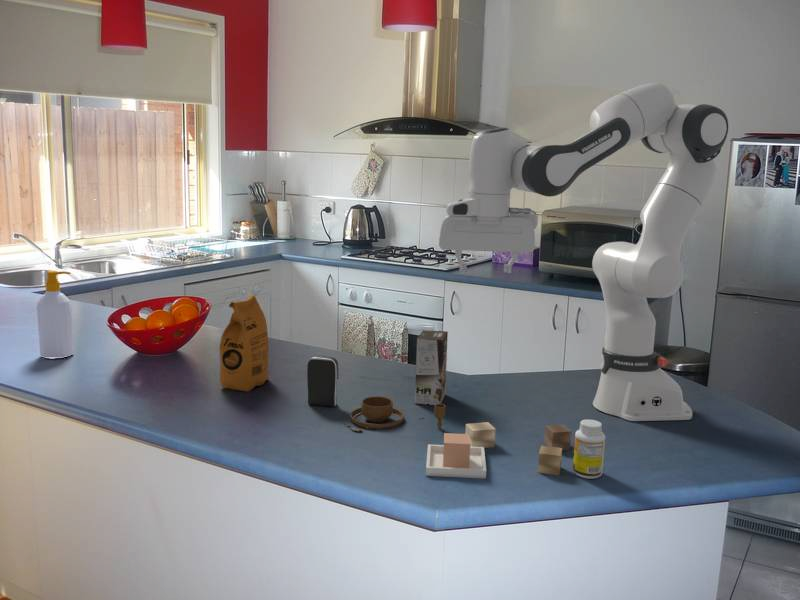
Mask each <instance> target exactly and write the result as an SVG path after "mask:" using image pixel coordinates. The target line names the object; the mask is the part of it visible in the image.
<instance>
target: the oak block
mask: <svg viewBox="0 0 800 600" xmlns="http://www.w3.org/2000/svg"><path fill="white" fill-rule="evenodd" d="M562 454H563V450H562V448H558V447H550V446H547V445H540V449H539V452H538V463H537V465H538V466H537V473H540V474H545V475H546V474H547V475H552V476H553V475H554V476H560V472H561V468H562V457H563V455H562Z"/></svg>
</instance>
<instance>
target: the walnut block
mask: <svg viewBox="0 0 800 600" xmlns="http://www.w3.org/2000/svg"><path fill="white" fill-rule="evenodd" d="M571 441H572V430H570V429H569V428H568V427H567V426H566V425H565V424H547V425H545V427H544V445H545V446H550V447H558V448H562V451H567V450H571V445H572V444H571V443H572V442H571Z"/></svg>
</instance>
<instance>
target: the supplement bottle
mask: <svg viewBox="0 0 800 600" xmlns="http://www.w3.org/2000/svg"><path fill="white" fill-rule="evenodd" d="M579 422H580V425H579V429H577V430H576V431H575V435H574V447H573V448H574V449H573V460H572V461H573V463H572V471H573V473H574V474H575V475H576V476H578V477H580V478H583V479H589V480H590V479H592V480H593V479H599V478H600V477H602V475H603V472H604V470H603V469H604V460H605V459H604V458H605V448H606V435H605V433H604V432H603V431H602V430H603V428H602V427H603V424H602V422H600V421H598V420H595V419H582V420H581V421H579Z"/></svg>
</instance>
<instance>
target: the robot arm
mask: <svg viewBox="0 0 800 600" xmlns="http://www.w3.org/2000/svg"><path fill="white" fill-rule="evenodd" d="M589 130H590V131H588V132H586V133H584V134H583V135H581V136H580V137H577V138H576V139H573V141H571V142H569V143H566V144H551V145H550V144H549V145H534V144H531V143H530V142H527V141H525V140H524V139H521V138H520V137H518V136H517V135H516V134H514V133H513V132H512V131H511V129H510V128H507V127H493V128H487V129H486V128H485V129H482V130H480V131H477V132H476V134H474V136H473V137H472V142H471V146H470V151H469V161H468V163H469V164H468V173H469V179H470V180H469V181H470V182H469V185H468V189H467V197H466V198H464V199H463V198H462V199H461V198H460V199H459V200H455V201H451V202H449V203H448V204H447V205H445V206H446V207H445V208H446V209H445V210H446V214H447V215H445V216H444V218H443V220H442V223H441V225H440V226H441V227H440V231H439V237H438V246H439V248H440V249H441V250H444V251H454V253H455V254H454V256H455V258H456V260H457V261H458V263H459V272H460V273H461V272H465V273H466V272H467V269H468V268H467V266H468V263H467V262H466V261H465V262H464V261H463V260H462V258H461V256H463V254H462V253H463V251H469V252H470V251H472V252H494V253H495V252H498V253H499V252H501V253H509V256H510V259H509V261H508V262H507V263H503V267H504V268H503V273H504V274H511V273H512V269H513V268H512V266H514V263H515V261H516V260H517V259H518V254H519V253H524V254H525V253H527V254H531V253H532V252H533V251H534V250H535V249H536V235H535V234H536V233H535V229H537V227H538V220H539V217H538V214H537V212H536V211H534V210H532V208H530V207H523V208H522V207H521V208H520V207H510V205H511V203H510V202H511V191H512V189H515V190H518V191H521V192H522V191H524V192H527V193H528V192H529V193H533V194H537V195H541V196H544V197H550V198H551V197H556V196H558V195H561V194H563V193H564V192H565V191H567V190H568V189H569V188H570V187H571V186H572V184H573V183H574V182H575V181H576V179H578V177H579V176H580V175H581V174H583V173H584V172H586V171H587V170H588V169H590V168H591V167H593V166H595V165H596V164H598V163H600V162H602V161H603V160H605V159H606V158H608V157H610V156H611V155H613V154H614V153H616V152H617V151H619V150H622V149H623V148H626V147H628V146H631V145H633V144H634V143H636V142H639V141H641V142H642V144H643V145H644V147H645V148H646V149H648V150H650V151H652V152H655V153H657V154H668V165H667V167H666V169H665V171H664V173H663V174H662V175H661V177H660V178H659V180H658V182H657V184H656V185H655V187H654V189H653V190H652V192H651V193H650V195H649V197H648V199H647V201H646V202H645V203H644V206H643V207H642V209H641V211H640V213H639V217H640V218H639V219H640V221H641V223H642V229H641V234H640V236H639V240H638V241H637V242H636V244H635V243H633V242H632V243H631V242H627V241H612V242H611V241H610V242H607V243H604V244H602V245H601V246H599V247H598V248H597V250H596V251H595V253H594V255H593V256H592V257H593V258H592V261H591V262H592V263H591V266H592V270H593V273H594V274H595V276H596V278H597V280H598V282H599V284H600V288H601V292H602V296H603V301H604V308H605V309H604V310H605V331H604V332H605V336H604V346H603V347H602V350H601V356H600V372H601V373H600V377H599V382H598V386H597V390H596V392H595V396H594V398H593V401H592V405H593V407H594V408H595V409H597V410H599V411H601V412H603V413H605V414H608V415H611V416H616V417H619V418H621V419H624V420H626V421H629V422H645V421H646V422H650V421H654V422H656V421H689V420H691V419H692V418H693V410H692V408H691V407H690V406H689V404H688V403H686V402H685V401H684V397H683V391H682V388H681V386H680V384H679V383H677V381H676V380H675V379H673V378H672V377H671V376H670V375H669V374H667V372H666V371H664V370H663V369H661V368H665V367H666V366H667V365H668V360H667V359H666V358H665V357H664V356H662V355H661V354H659V353H657V352H655V351H654V347H655V336H656V325H657V321H656V318H655V315H654V313H653V312H652V311H651V310H652V309H650V305H649V303H648V298H649V299H665V298H669V297H671V296H673V295H674V294H675V293H677V292H678V290H679V289H680V287H681V286H682V284H683V281H684V274H685V273H684V272H685V271H684V267H683V265H682V262H681V253H682V247H683V243H684V240H685V237H686V236H687V235H686V234H687V232H688V231H689V229H690V227H691V225H692V223H693V221H694V220H695V218H696V216H697V214H698V213H699V210H700V209H701V207H702V206H703V204H704V203H705V201H706V199H707V197H708V195H709V192H710V190H711V187H712V185H713V183H714V180H715V178H716V174H717V165H716V162H715V160H714V159H716V157H718V156H719V154H720V153H721V151H722V148H723V147H724V144H725V143H726V140H727V137H728V133H729V119H728V117H727V114H726V113H725V112H724V110H722V109H721V108H719V107H717V106H714V105H711V104H707V103H706V104H705V103H703V104H692V103H681V104H676V101H675V98H674V95H673V93H672V91H671V90H670V88H669V87H667V86H666V85H665V84H663V83H659V82H649V83H645V84H642V85H640V84H639V85H637V86H635V87H632V88H630V89H626V90H625V91H622V92H620V93H617V94H616V95H614V96H611V97H610V98H608V99H606V100H605V101H603V102H601V103H600V104H599V105H597V107H595V108H594V109H593V110H592V112H591V114H590V118H589Z"/></svg>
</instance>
